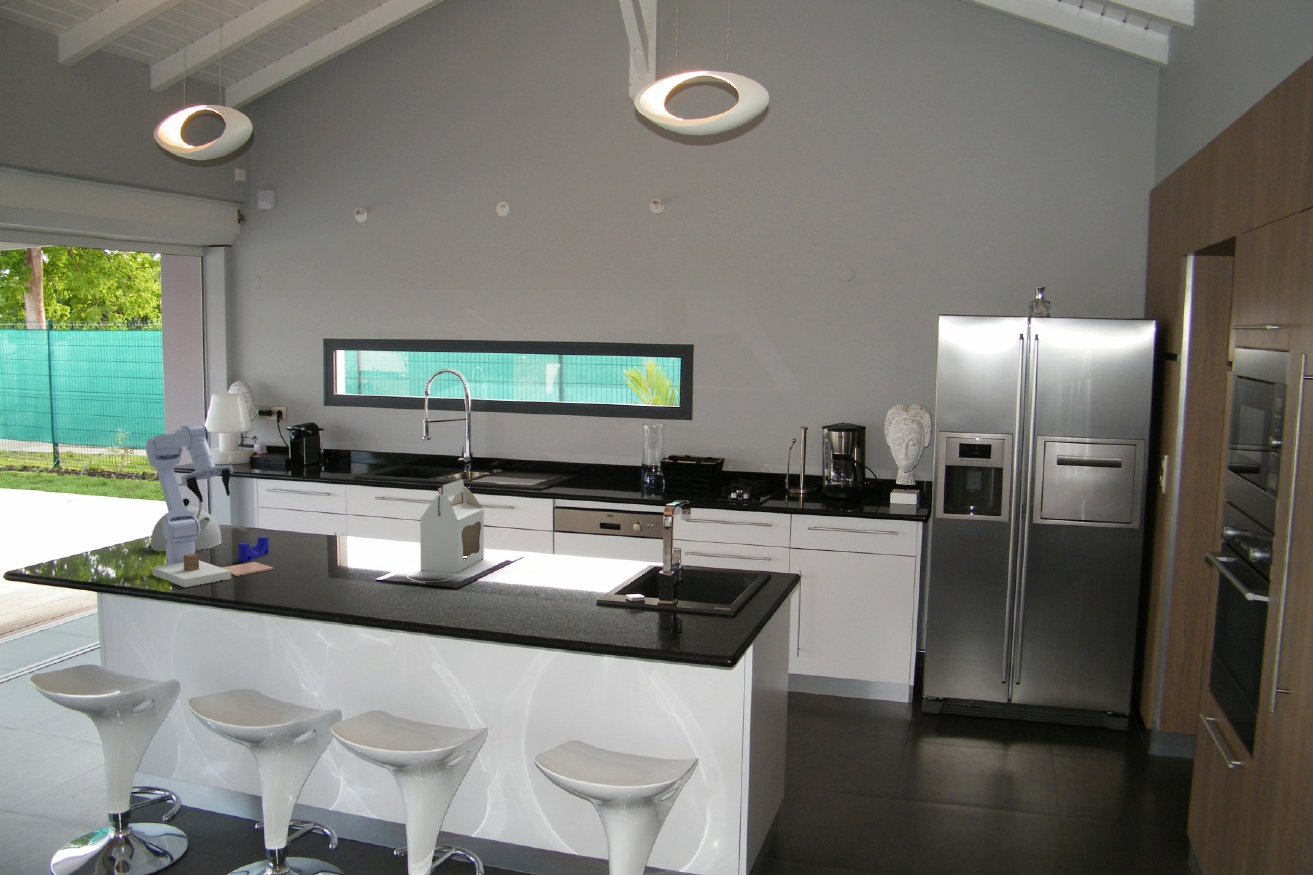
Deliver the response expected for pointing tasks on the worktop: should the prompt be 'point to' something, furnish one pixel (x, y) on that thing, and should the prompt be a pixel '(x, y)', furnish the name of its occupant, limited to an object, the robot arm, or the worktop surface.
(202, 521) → the kettle
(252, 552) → the cable clip
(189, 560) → the walnut peg
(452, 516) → the gable box
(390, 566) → the worktop surface
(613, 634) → the worktop surface
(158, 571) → the board
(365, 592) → the worktop surface
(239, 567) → the terracotta tile
